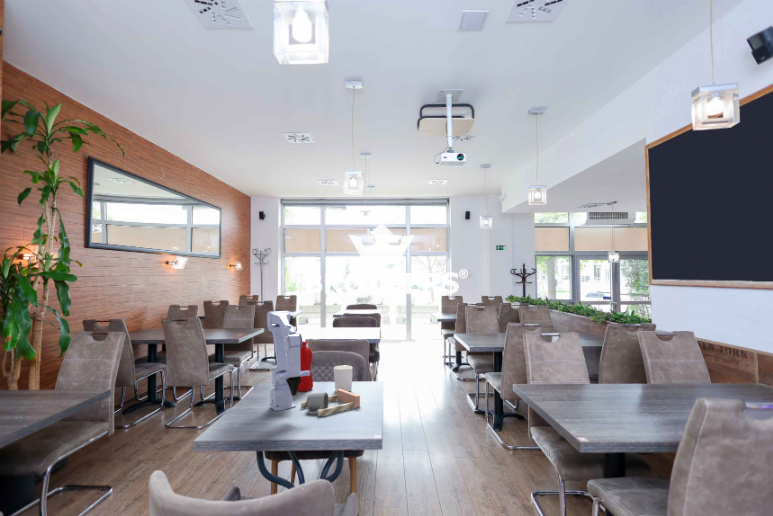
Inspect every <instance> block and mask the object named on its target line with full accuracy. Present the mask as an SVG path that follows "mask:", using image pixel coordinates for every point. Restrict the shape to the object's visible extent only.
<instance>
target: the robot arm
mask: <svg viewBox="0 0 773 516" xmlns="http://www.w3.org/2000/svg"><path fill="white" fill-rule="evenodd" d="M290 321H291V313H290V311H289V310H279V311H277V310H276V311H268V312H267V313H266V323H267V329H268V331H269V332H271V333H272V336H273V337H272V339H273V344H274V351H275V360H276V367H274V369H272V371H271V384H272V387H273V388H272V389H270V391H269V406H268V407H269V408H270V409H272V410H274V411H276V412H279V411H283V410H286V409H292V408H296V405H295V404H294V403H293V397H296V396H297V393H298V391H297V390H298V387H299V384H300V382H301V380H302V378H300V377H302V376H310V371H308V370H307V371H300V347H301V346H302V341H303V336H302V334H301V333H299V332H297V331H296V329H295V327H294V325H292V324H290Z"/></svg>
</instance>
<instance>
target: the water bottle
mask: <svg viewBox="0 0 773 516" xmlns="http://www.w3.org/2000/svg"><path fill="white" fill-rule="evenodd" d="M307 346H308V342H307V341H303V340H302V346H301V347H300V371H307V370H308V371H310V376H302V377H300V378H302V380H301V382H300V384H299V387H298V390H297V392H302V393H303V392H308V391H310V390H312V389H313V387H314V380H313V375H312V371H311V367H312V366H311V365H312V360H313V352H312V349H311V348H309V347H307Z"/></svg>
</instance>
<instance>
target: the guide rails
mask: <svg viewBox="0 0 773 516" xmlns="http://www.w3.org/2000/svg"><path fill="white" fill-rule="evenodd" d="M328 397H329V402H330V403H333V402H332V401H334V402H337V401H336V400H338V395H337V394H333V395H328ZM306 407H307V400H306V401H305V400H304V401H302V402H300V408H301V409H302V408H303V409H306ZM352 408H354V409H357V408H356V402H351V403H347V404H345V403H343V404H339V405H338V404H337V405H335V406H331V407H328V408H326V409H321V410H318V414H317V417H318V416H319V418H321V417H320V416H322V417H325V416H324V415H326V416H328V414H330V415H333V413H334V414H337V413H336V412H338V413H341V412H340V411H342V412H345V411H344V410H346V411H349V410H348V409H350V410H353V409H352Z"/></svg>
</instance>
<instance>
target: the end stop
mask: <svg viewBox="0 0 773 516" xmlns="http://www.w3.org/2000/svg"><path fill="white" fill-rule="evenodd" d="M336 395H338V400H339V401H338V402H340V401H342V402H341V403H343V402H344V403H343V404H345V403H351V402H356V408H355V409H357V407H358V408H360V407H361V396H360V395H359V394H356V393H354V392H351V391H350V392H348V391H345V390H343V389H337V392H336Z"/></svg>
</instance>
